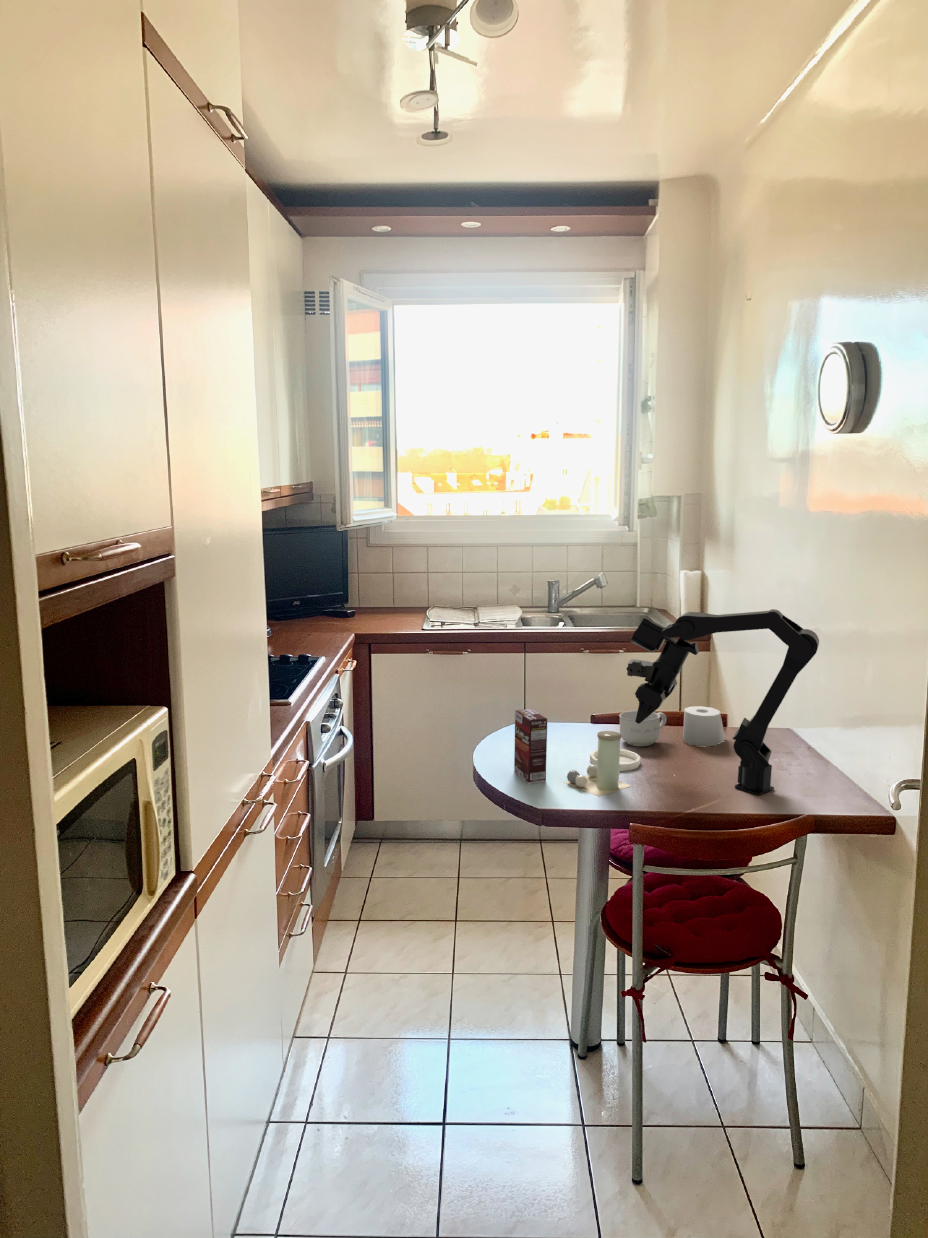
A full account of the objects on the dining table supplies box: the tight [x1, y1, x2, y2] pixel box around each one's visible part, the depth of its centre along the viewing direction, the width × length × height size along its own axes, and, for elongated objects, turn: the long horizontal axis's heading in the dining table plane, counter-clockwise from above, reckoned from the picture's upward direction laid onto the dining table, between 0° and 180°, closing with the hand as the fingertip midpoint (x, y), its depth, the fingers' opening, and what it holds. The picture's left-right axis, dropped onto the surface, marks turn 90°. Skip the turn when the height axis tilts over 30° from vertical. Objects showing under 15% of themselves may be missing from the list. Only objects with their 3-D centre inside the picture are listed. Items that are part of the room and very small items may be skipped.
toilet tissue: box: [682, 705, 726, 747], centre depth 237 cm, size 9×13×9 cm
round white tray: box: [589, 748, 642, 772], centre depth 218 cm, size 12×12×2 cm
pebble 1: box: [566, 769, 581, 783], centre depth 204 cm, size 3×3×3 cm
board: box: [563, 774, 632, 798], centre depth 203 cm, size 11×11×1 cm
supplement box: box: [513, 708, 548, 785], centre depth 206 cm, size 9×5×16 cm, turn 21°
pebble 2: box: [575, 774, 587, 788], centre depth 201 cm, size 3×3×3 cm
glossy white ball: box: [586, 764, 597, 777], centre depth 208 cm, size 3×3×3 cm
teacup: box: [618, 710, 667, 747], centre depth 235 cm, size 14×11×8 cm
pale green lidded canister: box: [596, 730, 622, 791], centre depth 201 cm, size 5×5×12 cm
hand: (641, 717), depth 211 cm, fingers open, 9 cm apart
